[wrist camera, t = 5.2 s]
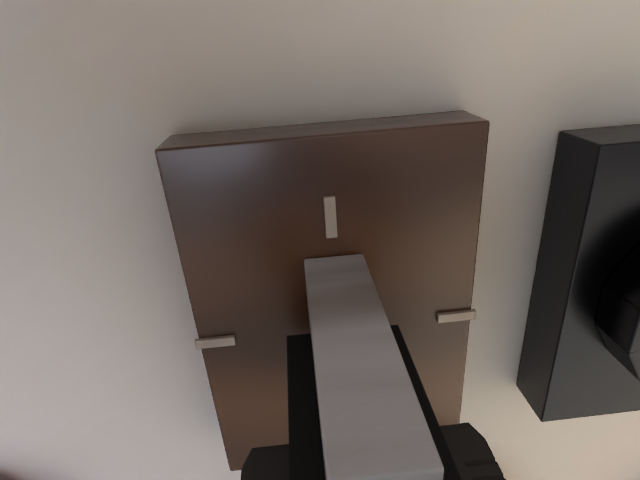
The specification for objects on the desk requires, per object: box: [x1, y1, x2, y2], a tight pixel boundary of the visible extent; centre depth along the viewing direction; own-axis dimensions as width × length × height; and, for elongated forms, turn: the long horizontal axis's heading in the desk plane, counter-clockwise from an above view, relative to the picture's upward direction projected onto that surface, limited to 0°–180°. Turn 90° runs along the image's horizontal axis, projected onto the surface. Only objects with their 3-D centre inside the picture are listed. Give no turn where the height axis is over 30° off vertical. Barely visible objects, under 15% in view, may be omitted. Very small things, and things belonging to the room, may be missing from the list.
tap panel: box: [155, 111, 489, 471], centre depth 17 cm, size 14×10×2 cm
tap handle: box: [304, 254, 444, 480], centre depth 12 cm, size 6×2×8 cm, turn 3°
